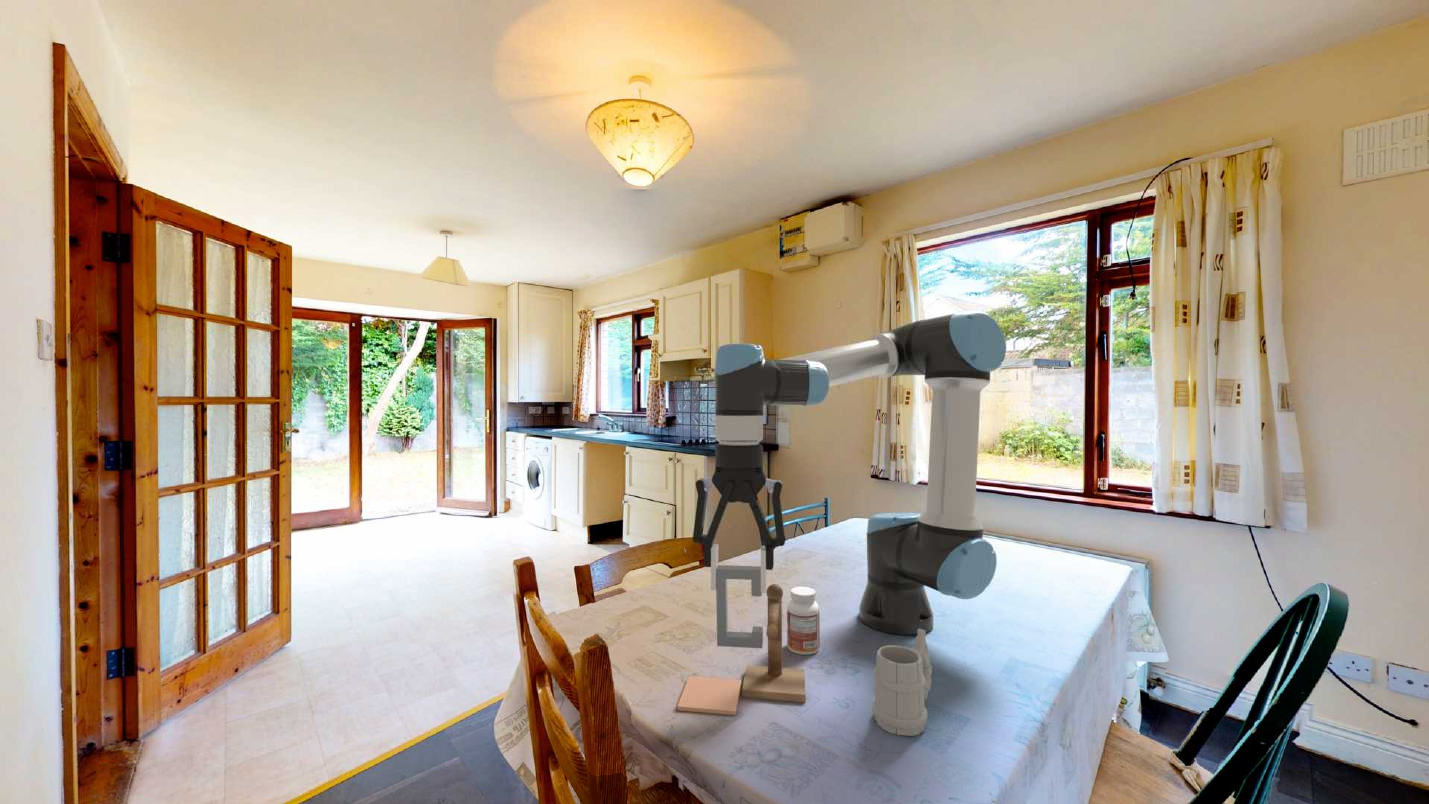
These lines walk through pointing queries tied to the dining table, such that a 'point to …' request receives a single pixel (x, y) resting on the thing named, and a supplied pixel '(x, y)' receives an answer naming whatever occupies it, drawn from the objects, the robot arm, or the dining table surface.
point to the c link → (723, 634)
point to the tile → (710, 695)
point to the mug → (902, 687)
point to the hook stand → (774, 662)
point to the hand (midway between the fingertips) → (739, 588)
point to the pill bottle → (803, 622)
